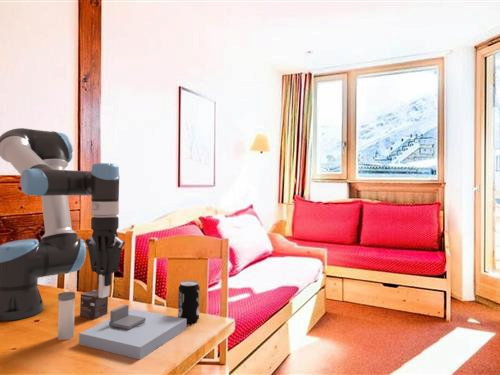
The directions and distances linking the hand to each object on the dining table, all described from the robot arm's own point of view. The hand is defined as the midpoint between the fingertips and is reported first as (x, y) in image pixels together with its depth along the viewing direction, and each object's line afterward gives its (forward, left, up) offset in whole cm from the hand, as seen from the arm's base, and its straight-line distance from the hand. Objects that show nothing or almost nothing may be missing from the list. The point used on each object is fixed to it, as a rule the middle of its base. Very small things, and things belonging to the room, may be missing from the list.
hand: (104, 296), depth 106 cm
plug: (-5, -8, -10) cm, 14 cm away
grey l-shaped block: (+9, 0, -6) cm, 11 cm away
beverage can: (+19, +17, -10) cm, 27 cm away
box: (-11, +8, -10) cm, 17 cm away
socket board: (+12, 0, -10) cm, 15 cm away
